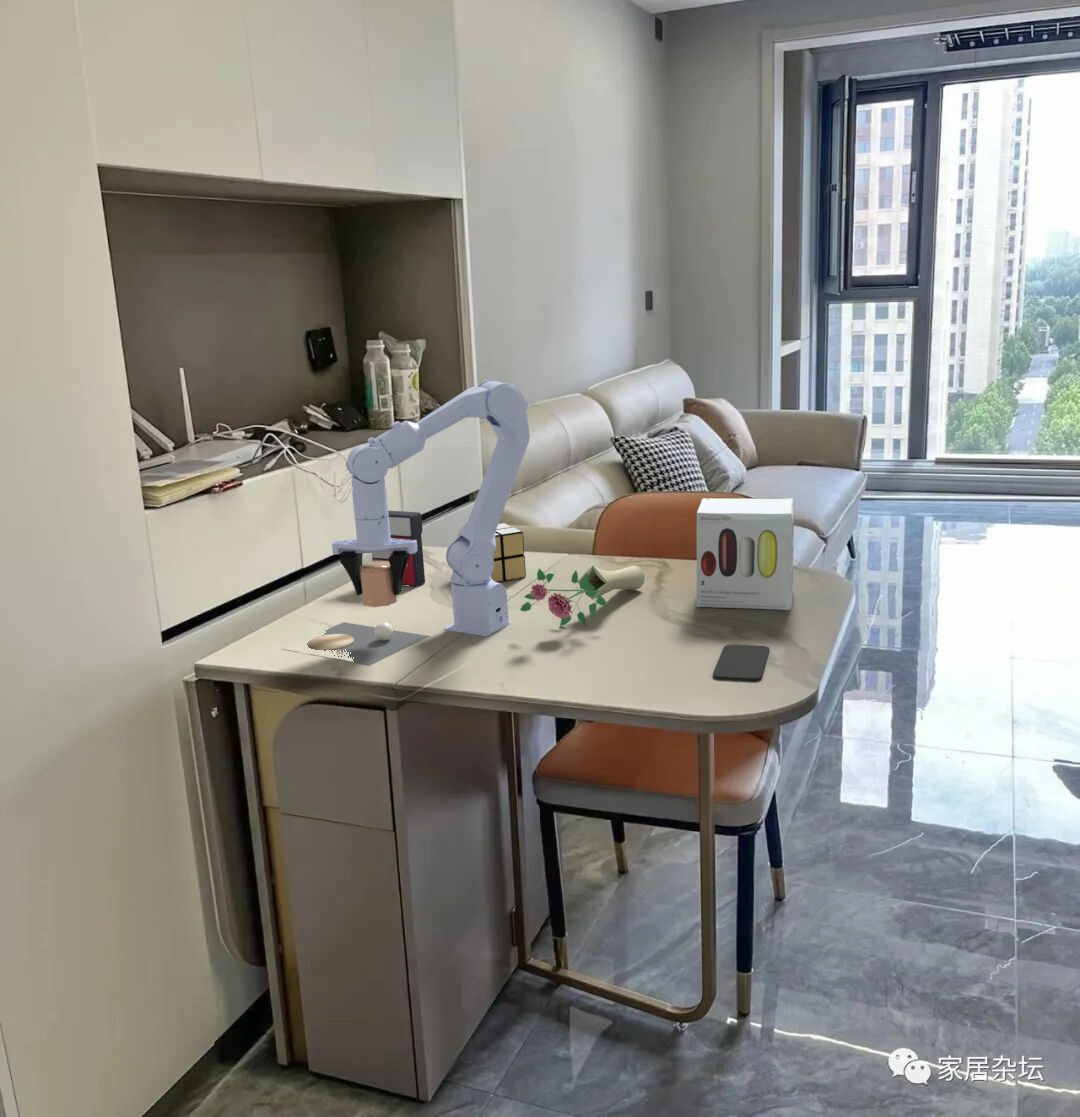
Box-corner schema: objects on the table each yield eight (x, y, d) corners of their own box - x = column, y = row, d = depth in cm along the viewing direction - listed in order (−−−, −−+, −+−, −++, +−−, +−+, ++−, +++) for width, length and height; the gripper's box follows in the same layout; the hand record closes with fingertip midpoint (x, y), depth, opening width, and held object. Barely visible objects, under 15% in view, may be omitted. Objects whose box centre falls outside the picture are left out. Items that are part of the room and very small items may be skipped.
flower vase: (645, 630, 209) (566, 648, 178) (592, 606, 215) (506, 619, 184) (666, 574, 207) (589, 583, 176) (611, 551, 212) (528, 555, 181)
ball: (397, 638, 188) (395, 621, 187) (385, 644, 185) (384, 626, 184) (383, 636, 190) (381, 619, 189) (371, 641, 187) (369, 624, 186)
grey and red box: (372, 583, 225) (365, 514, 221) (384, 578, 229) (377, 509, 225) (415, 588, 220) (409, 516, 216) (427, 582, 224) (421, 512, 220)
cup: (402, 599, 186) (399, 563, 185) (381, 608, 182) (378, 571, 180) (378, 595, 189) (374, 560, 188) (356, 604, 185) (352, 568, 183)
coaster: (363, 639, 189) (363, 637, 189) (332, 653, 182) (331, 651, 182) (329, 633, 193) (329, 631, 193) (297, 647, 186) (297, 645, 186)
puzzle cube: (464, 575, 228) (461, 529, 226) (507, 567, 232) (504, 522, 230) (482, 585, 219) (478, 538, 217) (526, 577, 223) (523, 531, 221)
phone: (770, 646, 174) (761, 678, 160) (770, 650, 174) (761, 684, 160) (724, 644, 176) (711, 676, 162) (724, 648, 176) (711, 681, 163)
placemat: (429, 638, 188) (429, 635, 188) (369, 667, 175) (369, 665, 175) (344, 624, 199) (343, 622, 199) (281, 651, 186) (281, 649, 186)
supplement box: (695, 609, 196) (693, 512, 192) (702, 588, 209) (701, 497, 204) (792, 611, 192) (793, 512, 188) (793, 589, 205) (794, 496, 200)
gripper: (419, 510, 184) (425, 586, 188) (339, 512, 187) (346, 587, 190) (407, 520, 178) (414, 598, 181) (324, 521, 180) (332, 598, 184)
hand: (379, 593), depth 185 cm, fingers closed on cup, 6 cm apart
